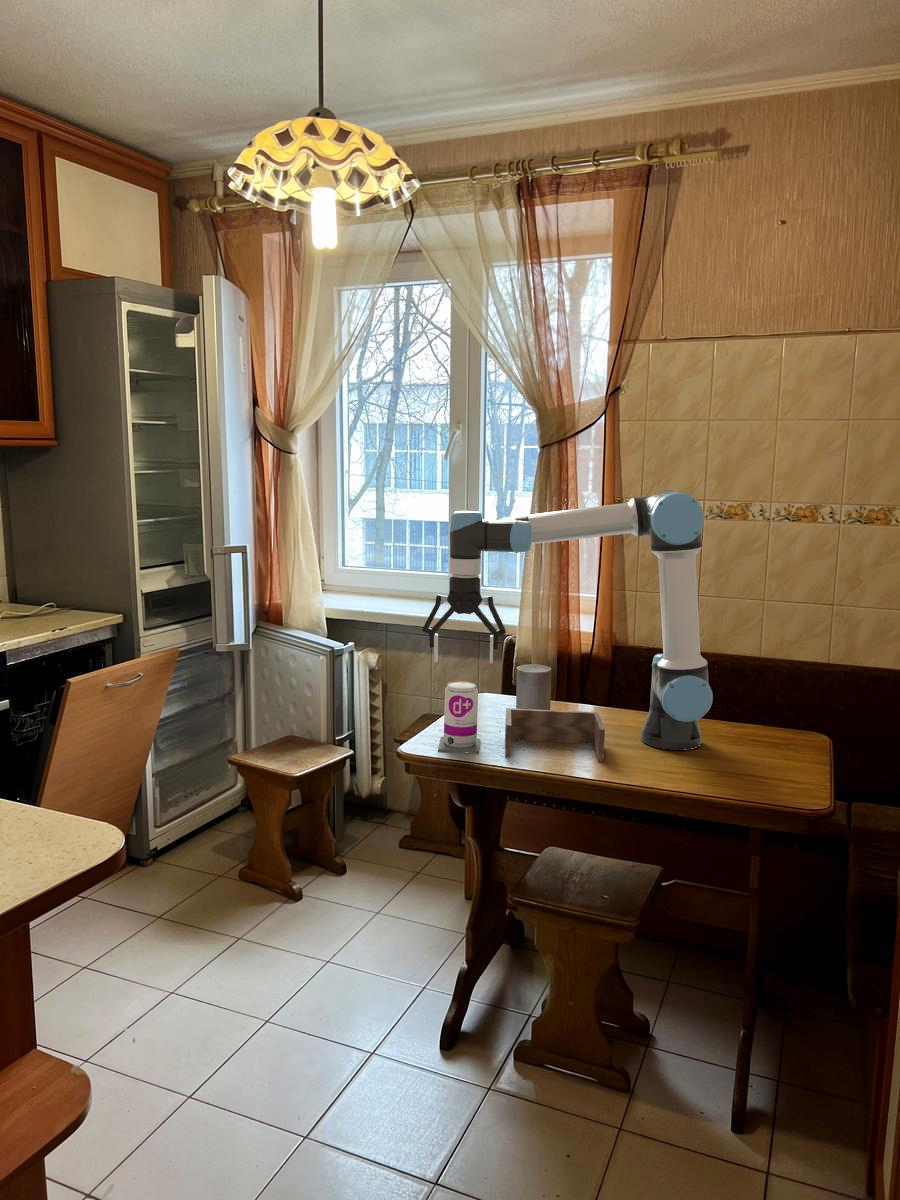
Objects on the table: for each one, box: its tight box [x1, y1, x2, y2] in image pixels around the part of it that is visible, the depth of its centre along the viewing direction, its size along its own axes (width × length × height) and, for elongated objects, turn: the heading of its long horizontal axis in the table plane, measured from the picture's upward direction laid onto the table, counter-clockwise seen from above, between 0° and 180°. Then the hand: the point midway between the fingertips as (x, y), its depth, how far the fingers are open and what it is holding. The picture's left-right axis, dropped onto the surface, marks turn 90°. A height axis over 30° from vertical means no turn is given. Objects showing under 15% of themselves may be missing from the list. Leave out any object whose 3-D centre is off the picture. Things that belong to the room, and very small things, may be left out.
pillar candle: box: [515, 663, 552, 710], centre depth 251 cm, size 10×10×15 cm
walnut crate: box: [504, 707, 606, 763], centre depth 221 cm, size 23×15×8 cm, turn 87°
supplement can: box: [443, 681, 479, 748], centre depth 222 cm, size 8×8×15 cm
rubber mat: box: [437, 736, 481, 754], centre depth 223 cm, size 10×10×1 cm
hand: (463, 661), depth 219 cm, fingers open, 13 cm apart
